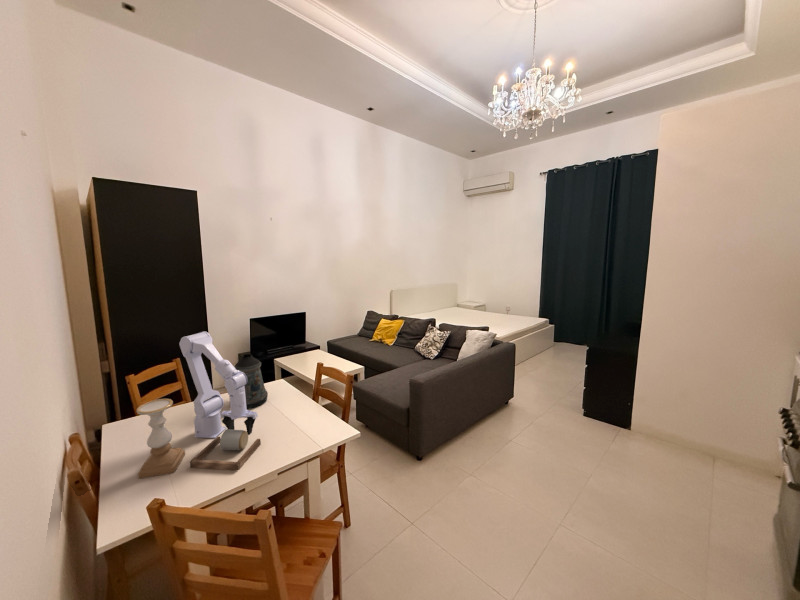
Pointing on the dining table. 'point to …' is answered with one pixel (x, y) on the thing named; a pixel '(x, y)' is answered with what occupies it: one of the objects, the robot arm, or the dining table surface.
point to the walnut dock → (222, 465)
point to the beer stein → (252, 381)
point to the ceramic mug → (233, 439)
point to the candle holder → (159, 441)
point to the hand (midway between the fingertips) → (240, 433)
